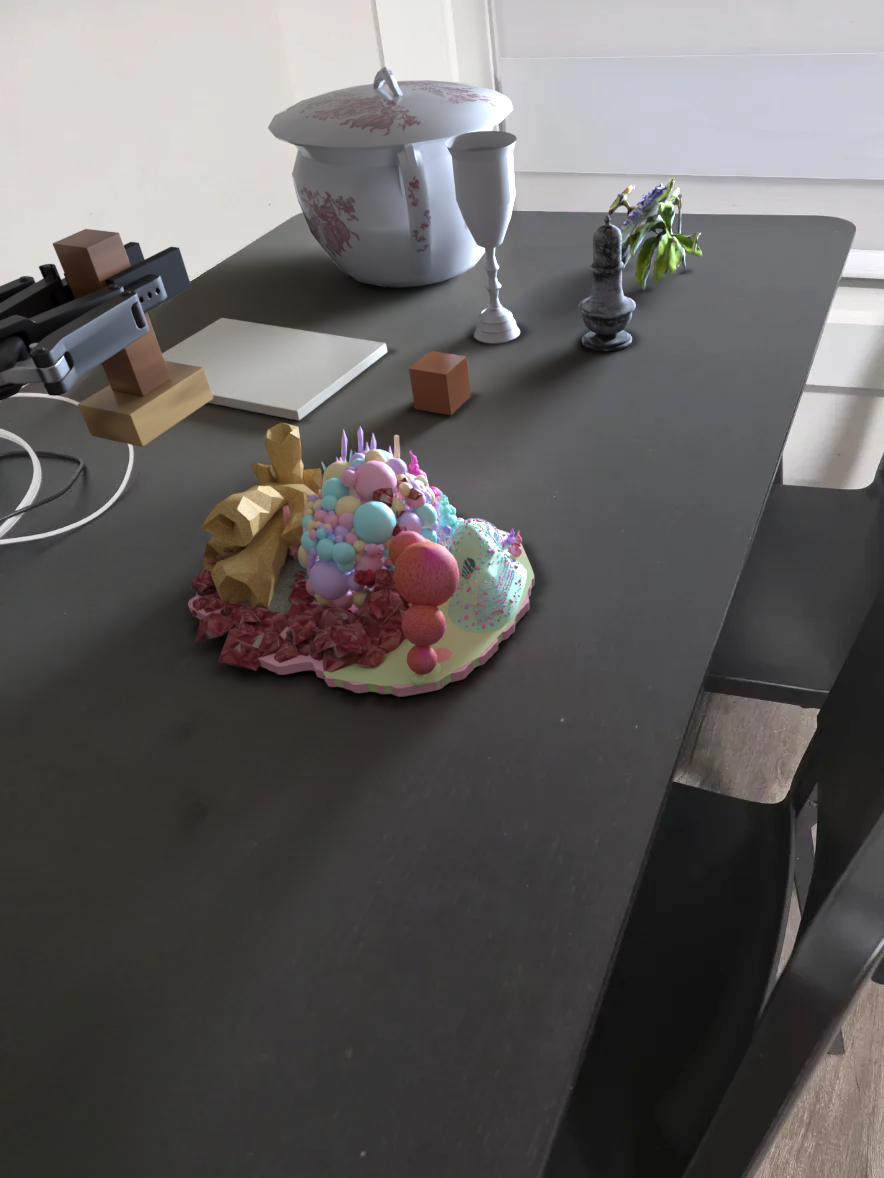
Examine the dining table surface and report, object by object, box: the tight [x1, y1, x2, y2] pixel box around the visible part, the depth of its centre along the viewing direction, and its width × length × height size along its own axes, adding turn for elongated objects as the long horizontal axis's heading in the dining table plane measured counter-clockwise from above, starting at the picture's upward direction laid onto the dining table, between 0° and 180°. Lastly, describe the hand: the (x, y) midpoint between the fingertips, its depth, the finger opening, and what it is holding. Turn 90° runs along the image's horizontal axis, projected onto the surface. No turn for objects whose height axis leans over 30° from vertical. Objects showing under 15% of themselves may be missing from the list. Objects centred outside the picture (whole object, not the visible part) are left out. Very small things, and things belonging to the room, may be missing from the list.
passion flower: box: [607, 177, 703, 291], centre depth 105 cm, size 11×11×12 cm
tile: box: [162, 317, 388, 421], centre depth 93 cm, size 22×16×1 cm
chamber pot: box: [267, 66, 514, 289], centre depth 105 cm, size 28×28×21 cm
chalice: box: [445, 130, 521, 344], centre depth 91 cm, size 7×7×18 cm
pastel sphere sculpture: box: [187, 421, 535, 698], centre depth 63 cm, size 25×24×9 cm
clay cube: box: [408, 350, 472, 416], centre depth 85 cm, size 4×4×4 cm
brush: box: [52, 228, 213, 448], centre depth 63 cm, size 5×8×12 cm, turn 155°
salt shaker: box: [577, 214, 637, 352], centre depth 90 cm, size 6×6×12 cm
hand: (160, 265), depth 65 cm, fingers closed on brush, 3 cm apart
